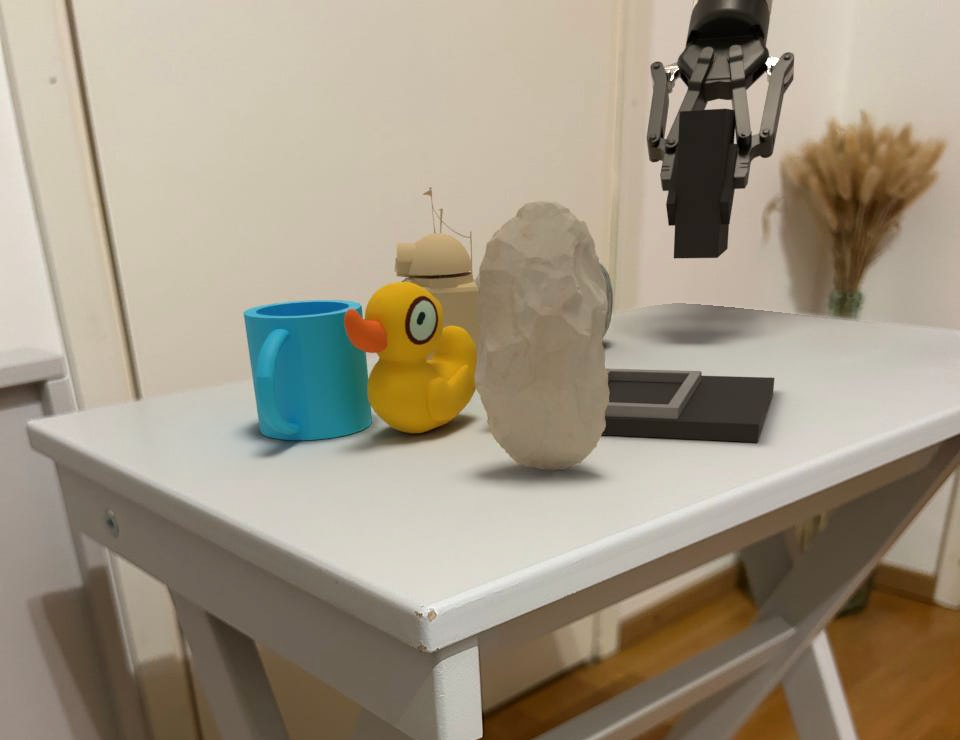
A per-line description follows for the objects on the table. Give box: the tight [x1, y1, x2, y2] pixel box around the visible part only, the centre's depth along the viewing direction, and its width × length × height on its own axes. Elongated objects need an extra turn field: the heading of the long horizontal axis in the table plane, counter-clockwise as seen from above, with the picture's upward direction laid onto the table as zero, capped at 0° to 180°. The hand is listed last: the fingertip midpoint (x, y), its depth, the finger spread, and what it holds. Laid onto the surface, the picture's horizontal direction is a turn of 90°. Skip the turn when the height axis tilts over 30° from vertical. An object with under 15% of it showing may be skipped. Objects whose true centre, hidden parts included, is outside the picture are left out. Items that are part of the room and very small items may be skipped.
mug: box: [243, 299, 373, 441], centre depth 69 cm, size 12×8×8 cm
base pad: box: [601, 368, 775, 443], centre depth 72 cm, size 18×14×2 cm
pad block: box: [673, 108, 736, 259], centre depth 92 cm, size 4×8×12 cm, turn 161°
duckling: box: [344, 281, 477, 434], centre depth 68 cm, size 11×5×10 cm, turn 140°
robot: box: [394, 186, 481, 361], centre depth 82 cm, size 10×8×15 cm
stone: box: [474, 200, 610, 471], centre depth 57 cm, size 8×5×15 cm
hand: (698, 213), depth 89 cm, fingers closed on pad block, 4 cm apart
